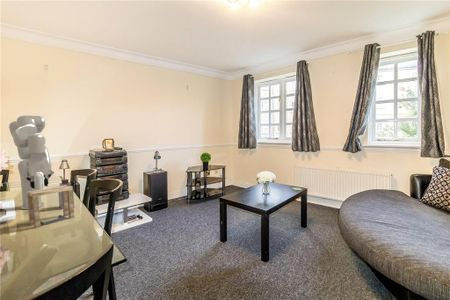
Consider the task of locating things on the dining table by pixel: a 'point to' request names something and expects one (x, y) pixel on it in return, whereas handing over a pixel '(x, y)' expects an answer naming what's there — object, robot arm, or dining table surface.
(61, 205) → the beige rectangular block
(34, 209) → the wooden display stand
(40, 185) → the photo printer
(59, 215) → the seat guides
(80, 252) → the dining table surface
